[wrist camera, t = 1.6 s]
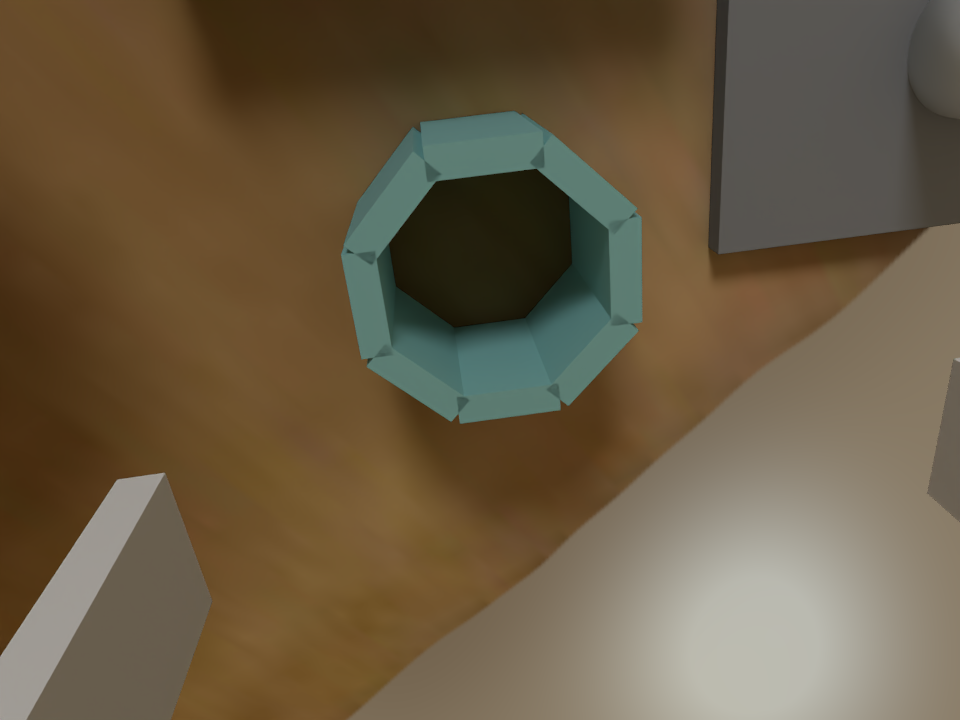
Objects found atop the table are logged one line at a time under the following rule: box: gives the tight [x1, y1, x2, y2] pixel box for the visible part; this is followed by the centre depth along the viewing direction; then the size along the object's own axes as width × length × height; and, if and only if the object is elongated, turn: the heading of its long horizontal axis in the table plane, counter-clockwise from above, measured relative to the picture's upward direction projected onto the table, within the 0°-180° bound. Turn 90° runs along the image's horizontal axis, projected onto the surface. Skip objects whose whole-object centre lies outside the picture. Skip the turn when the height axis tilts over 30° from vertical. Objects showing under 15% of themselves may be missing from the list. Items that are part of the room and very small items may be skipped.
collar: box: [341, 111, 642, 424], centre depth 24 cm, size 9×9×6 cm
